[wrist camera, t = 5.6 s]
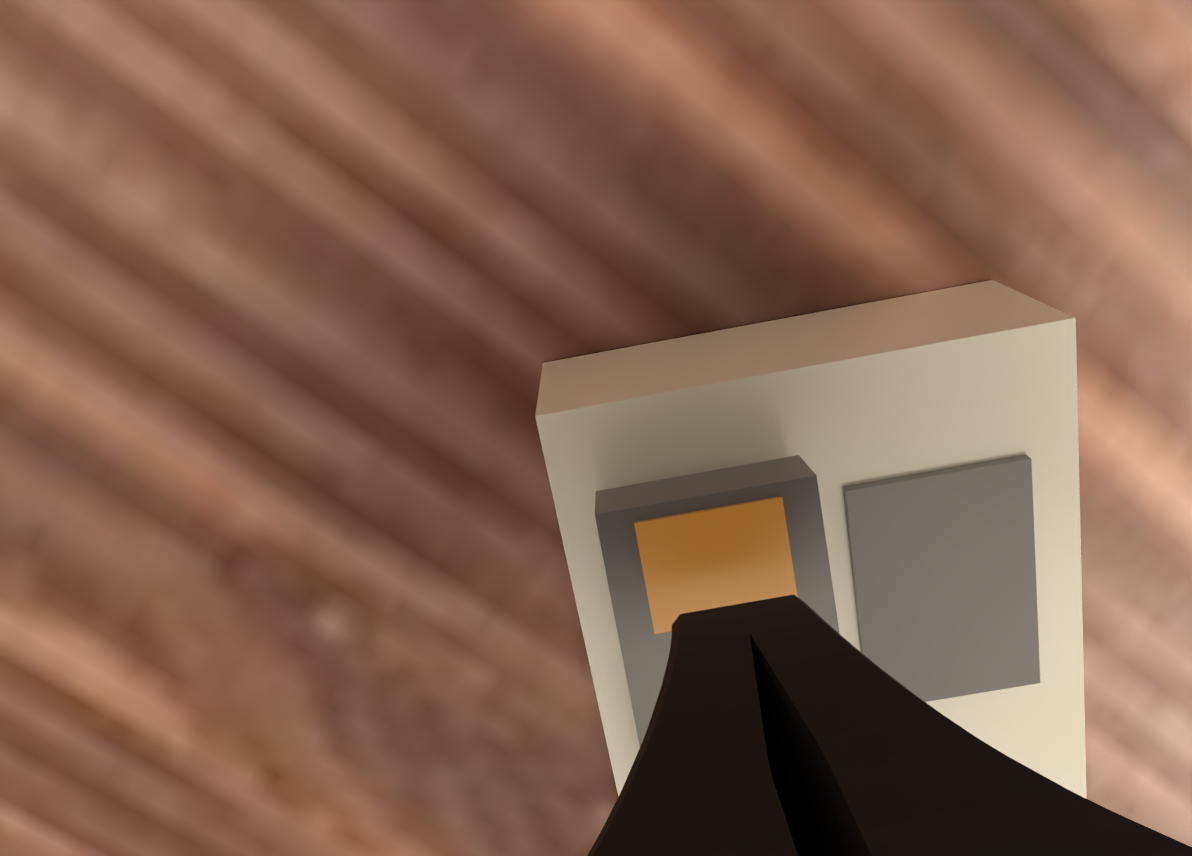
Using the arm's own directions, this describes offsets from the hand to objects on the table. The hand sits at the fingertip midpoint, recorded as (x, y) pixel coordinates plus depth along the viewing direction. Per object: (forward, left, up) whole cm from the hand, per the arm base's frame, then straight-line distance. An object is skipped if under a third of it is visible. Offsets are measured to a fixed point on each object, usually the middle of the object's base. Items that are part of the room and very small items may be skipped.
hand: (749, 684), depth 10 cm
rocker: (0, -2, -3) cm, 4 cm away
